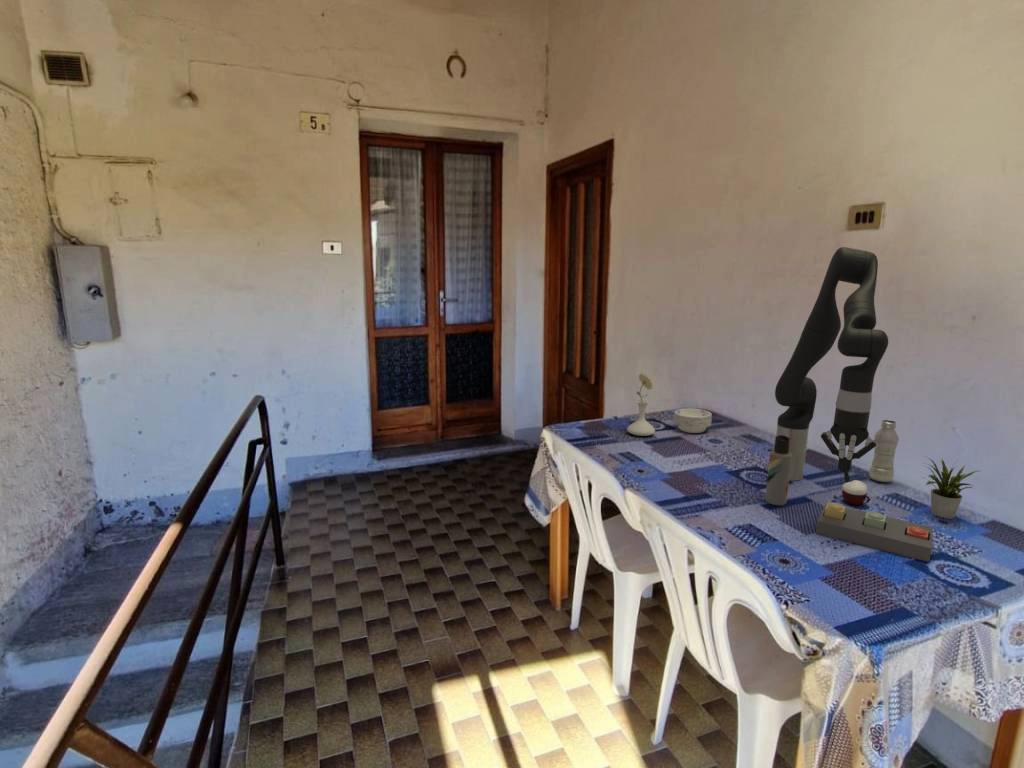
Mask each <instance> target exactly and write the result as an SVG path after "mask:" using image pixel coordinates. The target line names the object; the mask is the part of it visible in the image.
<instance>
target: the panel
mask: <svg viewBox="0 0 1024 768" xmlns="http://www.w3.org/2000/svg"><path fill="white" fill-rule="evenodd" d="M828 503H829V502H827V503H825V505H824V507H823V508H822V510H821V512H820V515H819V516H818V519H817V521H816V528H815V534H817V535H821V536H825V537H829V538H833V539H837V540H842V541H845V542H849V543H851V544H856V545H860V546H864V547H867V548H872V549H876V550H879V549H880V551H883V552H887V553H892V554H895V555H898V556H899V555H900V556H903V557H907V556H908V557H907V558H912V559H915V560H919V561H922V562H925V563H926V562H927V563H930V559H931V555H932V550H933V549H932V548H933V534H934V533H933V531H934V527H933V526H930V525H925V524H920V523H916V522H912V521H907V520H903V519H899V518H895V517H889V516H886V519H885V526H884V530H882V529H878V528H874V527H870V526H866V525H864V520H865V516H866V513H867V512H868V511H862V510H858V509H854V508H850V507H846V508H845V516H844V519H843V520H840V519H836V518H832V517H828V516H824V514H825V508H826V506H827V504H828ZM908 526H909V527H911V526H915V527H920V528H923V529H925V530H926V531H928V540H925V539H920V538H916V537H912V536H908V535H906V534H907V528H908Z"/></svg>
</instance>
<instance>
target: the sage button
mask: <svg viewBox="0 0 1024 768" xmlns="http://www.w3.org/2000/svg"><path fill="white" fill-rule="evenodd" d="M866 512H867V513H866V516H865V520H864V525H866V526H870V527H874V528H878V529H882V530H884V526H885V519H886V517H887V515H885V514H882V513H881V512H877V511H866Z"/></svg>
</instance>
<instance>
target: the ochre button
mask: <svg viewBox="0 0 1024 768" xmlns="http://www.w3.org/2000/svg"><path fill="white" fill-rule="evenodd" d="M827 503H828V504H827V506H826V508H825V514H824V516H828V517H832V518H836V519H840V520H843V519H844V516H845V508H847V507H846V506H844V505H842V504H840V503H837V502H827Z"/></svg>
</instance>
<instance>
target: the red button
mask: <svg viewBox="0 0 1024 768" xmlns="http://www.w3.org/2000/svg"><path fill="white" fill-rule="evenodd" d="M906 535H908V536H912V537H916V538H920V539H925V540H928V531H926V530H925V529H923V528H920V527H915V526H911V527H909V526H908V528H907V534H906Z"/></svg>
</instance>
